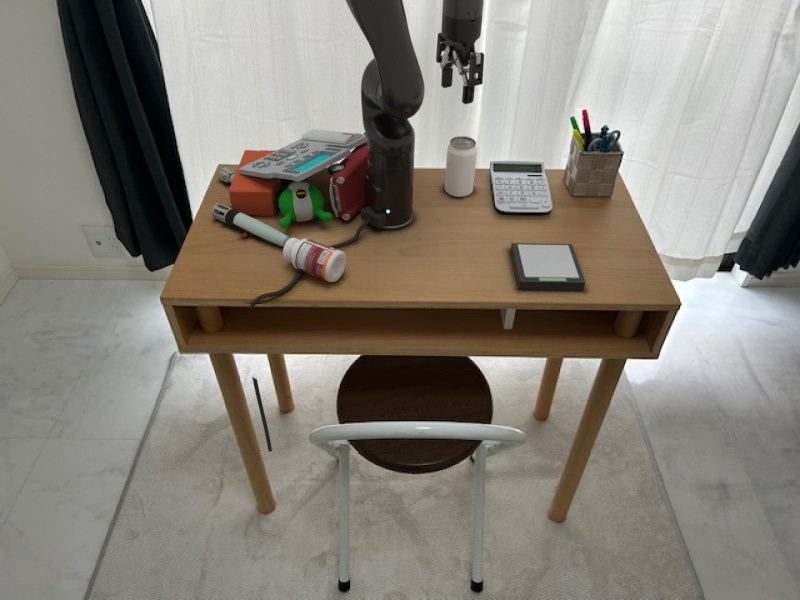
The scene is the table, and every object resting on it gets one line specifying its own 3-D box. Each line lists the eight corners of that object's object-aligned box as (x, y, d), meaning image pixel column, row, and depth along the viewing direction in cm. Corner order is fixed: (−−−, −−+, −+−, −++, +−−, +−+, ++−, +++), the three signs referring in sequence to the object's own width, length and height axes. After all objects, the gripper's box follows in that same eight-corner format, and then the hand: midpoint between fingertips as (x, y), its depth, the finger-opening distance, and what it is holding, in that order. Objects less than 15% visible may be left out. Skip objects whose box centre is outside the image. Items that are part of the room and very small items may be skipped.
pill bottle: (346, 275, 118) (300, 256, 122) (348, 246, 114) (300, 228, 119) (327, 288, 113) (279, 269, 117) (329, 259, 110) (280, 240, 114)
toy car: (318, 173, 124) (363, 179, 121) (371, 123, 142) (412, 127, 138) (327, 220, 131) (369, 227, 127) (376, 166, 149) (415, 171, 145)
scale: (518, 289, 115) (520, 279, 113) (510, 250, 124) (511, 241, 122) (582, 290, 115) (585, 280, 113) (569, 251, 124) (572, 242, 122)
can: (471, 199, 138) (476, 150, 130) (442, 196, 139) (445, 147, 131) (474, 184, 142) (479, 136, 135) (446, 181, 143) (450, 133, 135)
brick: (228, 190, 127) (232, 215, 131) (271, 191, 127) (275, 216, 131) (244, 149, 141) (248, 172, 145) (284, 150, 141) (286, 173, 145)
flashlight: (284, 258, 123) (211, 223, 130) (296, 240, 124) (223, 207, 131) (277, 250, 120) (203, 215, 127) (290, 232, 121) (216, 199, 129)
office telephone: (317, 123, 144) (375, 128, 130) (320, 134, 145) (378, 140, 132) (235, 162, 131) (291, 172, 118) (239, 174, 133) (295, 185, 119)
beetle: (249, 170, 140) (250, 181, 142) (222, 162, 141) (224, 174, 144) (240, 179, 137) (242, 191, 140) (213, 172, 139) (215, 183, 141)
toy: (319, 170, 136) (328, 183, 122) (324, 207, 139) (333, 224, 125) (269, 177, 134) (273, 190, 120) (275, 214, 137) (280, 231, 123)
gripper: (426, 2, 118) (424, 85, 129) (464, 25, 109) (458, 112, 120) (460, -3, 121) (455, 78, 132) (500, 19, 111) (491, 105, 122)
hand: (456, 94), depth 126 cm, fingers open, 8 cm apart
